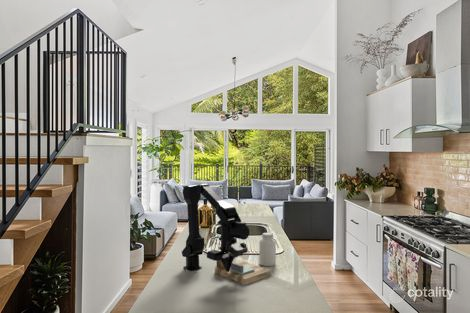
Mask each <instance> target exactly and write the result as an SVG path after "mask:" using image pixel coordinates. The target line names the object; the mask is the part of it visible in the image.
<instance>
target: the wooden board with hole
mask: <svg viewBox="0 0 470 313" xmlns="http://www.w3.org/2000/svg"><path fill="white" fill-rule="evenodd" d="M233 262H234V263H237V264H240V265H244V266H247V267H250V268H253V269H255V271H252V272H248V273H245V274H242V275H241V274H239V273H236V272H233V271H231V270H230V271H229V272H226V270H225V269H220V268H217V266H215V267H214V274H217V275H219V276H221V277H225V278H227V279H229V280H233V281H234V282H238V283H239V284H242V285H243V286H245V285H247V284H250V283H254V282H256V281H258V280H261V279H265V278H267V277H270V276H271V275H272V274H271V271H272V270H270V269H269V268H265V267H262V266H259V265H256V264H254V263H251V262H250V263H249V262H248V261H247V262H246V261H244V260H241V259H240V260H235V261H233Z"/></svg>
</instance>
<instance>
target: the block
mask: <svg viewBox="0 0 470 313" xmlns="http://www.w3.org/2000/svg"><path fill="white" fill-rule="evenodd" d="M216 267H217V268H220V269H225V268H224V265H223V263H222V261H221V260H217V261H216Z"/></svg>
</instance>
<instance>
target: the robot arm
mask: <svg viewBox="0 0 470 313" xmlns="http://www.w3.org/2000/svg"><path fill="white" fill-rule="evenodd" d="M182 195H183V196H182V198H183V200H184V201H185V203H186V205H187V220H188V221H187V222H188V236H187V238H186V240H185V246H184V248H183V249H182V251H181V256H182V257H184V258H185V265H184V266H183V269H184V270H187V271H189V272H193V271H197V270H199V269H202V268H203V267H202V266H200V256H201V255H203V251H204V250H205V245H206V243H205V237H202V235H201V233H200V222H199V221H200V217H199V201H200V200H201V199H202V198H201V197H203V198H204V199H205V200H206V201H207V202H208V203H209V204H210V205H211V206H212V207H213V208H214V209H215V214H216V215H217V217H218V218H219V221H218V222H217V225H220V237H218V240H219V241H220V246H219V247H218V250H216V249H211V250H208V251H207V252H206V259H209V260H212V261H214V262H215V261H216V262H217V260H221V261H222V263H223V265H224V268H225V270H226V272H229V271H230V268H231V265H232V262H234V260H235V259H236V258H238V257H241V256H243V254H246V253H248V246H247V243H246V242H244V241H243V242H241V243H240V242H239V243H238V241H237V240H247V239H248V238H249V236H250V229H249V226H248V225H247V223H246V222H245V221H244V222H242V219H241V217H240V216H239V213H238V211H237V209H236V207H235V206H234V205H232V204H231V203H228V202H226V201H224V200H223V199H222V198H221V196H219V195H218V194H217V193H216V192H215V191H214V190H213V189H212V188H211V187H210V185H209V184H208V183H199V184H191V185H185V186H184V187H183V188H182Z"/></svg>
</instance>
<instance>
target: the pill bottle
mask: <svg viewBox="0 0 470 313" xmlns="http://www.w3.org/2000/svg"><path fill="white" fill-rule="evenodd" d="M261 237H262V238H261V239H260V240H259V264H260V265H261V266H265V267H272V266H275V265H276V263H277V258H276V257H277V253H276V252H277V248H276V245H277V243H276V240H275V239H274V234H273V233H272V232H263V233H262V235H261Z"/></svg>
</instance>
